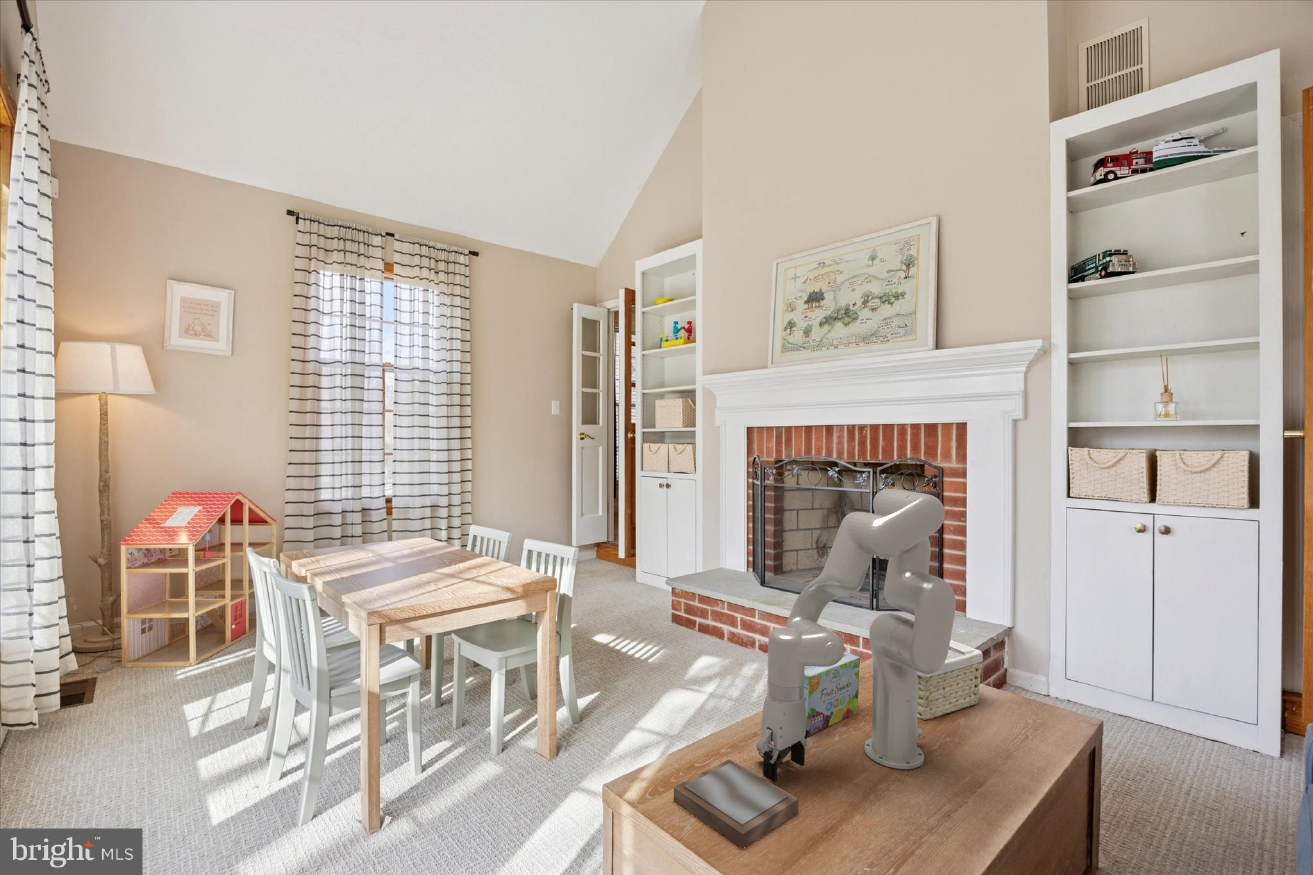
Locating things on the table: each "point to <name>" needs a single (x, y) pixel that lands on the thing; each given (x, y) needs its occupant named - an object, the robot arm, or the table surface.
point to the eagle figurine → (781, 756)
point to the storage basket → (950, 683)
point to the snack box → (831, 692)
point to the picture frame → (736, 802)
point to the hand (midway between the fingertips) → (784, 770)
